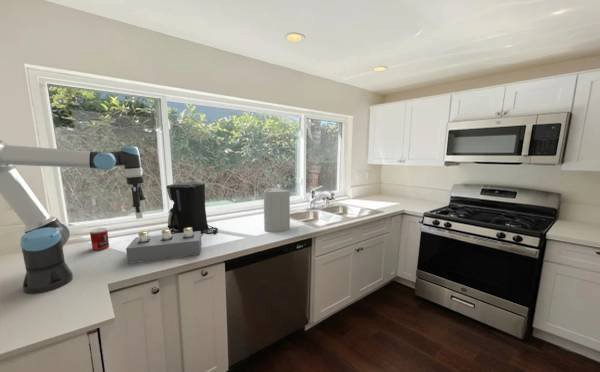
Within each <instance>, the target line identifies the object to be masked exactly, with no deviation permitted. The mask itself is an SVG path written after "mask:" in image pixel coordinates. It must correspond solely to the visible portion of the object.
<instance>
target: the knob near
mask: <svg viewBox="0 0 600 372" xmlns="http://www.w3.org/2000/svg"><path fill="white" fill-rule="evenodd" d="M137 235H138V237H139V243H149V237H148V236H149V231H148V230H143V231H140V232H138V233H137Z"/></svg>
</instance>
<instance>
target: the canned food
mask: <svg viewBox="0 0 600 372" xmlns="http://www.w3.org/2000/svg"><path fill="white" fill-rule="evenodd" d="M108 232H109V231H108V229H107V228H106V227H99V228H94V229H92V230H90V231H89V235H90V241H91V249H92V250H93V251H94V252H97V251H98V252H99V251H104V250H107V249H108V248H109V247H110V241H109V233H108Z"/></svg>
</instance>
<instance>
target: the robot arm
mask: <svg viewBox="0 0 600 372" xmlns="http://www.w3.org/2000/svg"><path fill="white" fill-rule="evenodd" d="M17 166H30V167H52V168H53V167H55V168H74V169H75V168H79V169H95V170H97V169H98V170H105V171H106V170H107V171H108V170H111V169H113V168H114V167H122V166H123V167H124V169H123V170H124V175H125V177H126V178H125V179H126V184H127V185H129V186H130V185H132V187H131V195H132V205H131V206H132V208H134V213H135V218H136V220H138V219H139V220H140V219H143V218H144V217H143V213H145V212H147V211H146V210H147V209H146V203H145V200H146V198H145V196H144V192H143V189H142V184H144V183H145V179H144V176H143V172H144V168H142V162H141V156H140V152H139V148H138V147H137V146H133V145H132V146H122V147H120V150H118V151H117V150H116V151H88V150H76V149H65V148H64V149H62V148H52V147H37V146H25V145H12V144H7V143H5V142H4V140H3V141H2V140H0V195H1V197H2V198H3V199H4V200H5V201H6V202H7V204H8V206H9V207H10V208H11V209H12V211H13V212H14V213H15V214H16V216H17V217H18V218H19V219H20V221H21V222H22V223H23V225H24V226H25V228H24V229H23V233H24V234H23V235H22V236H21V237H20V248H21V252H22V256H23V262H24V265H25V274H24V275H25V276H24V280H23V283H22V291H23V292H24V293H25V294H32V295H33V294H40V293H44V292H49V291H53V290H55V289H57V288H61V287H63V286H65V285H66V284H68V283H70V282H71V281H72V280H73V278H74V276H73V272H72V270H71V269H70V267H69V266H68V264H67V263H66V260H65V255H64V249H63V248H64V247H65V245H66V244H67V243H68V241H69V239H70V234H71V233H70V228H69V227H68V226H67V225H65V224H64V223H62V222H61V221H60V220H59V219H58V217H56V216H52V215H50V213H49V212H48V211H47V209H46V208H45V207H44V205H43V204H42V202H40V200H39V198H38V197H37V195H36V194H35V193H34V192H33V190H32V189H31V188H30V186H29V185H28V183H27V182H26V181H25V180H24V178H23V177H22V175H21V174H20V173H19V172H18V170H17Z"/></svg>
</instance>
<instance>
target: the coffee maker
mask: <svg viewBox="0 0 600 372" xmlns="http://www.w3.org/2000/svg"><path fill="white" fill-rule="evenodd" d="M166 192H167V195H168V198H169V200H170V201H172V203H173V204H172V207H171V208H170V209H169V212H168V219H167V229H171V234H175V233H184V228H186V227H192V232H195V231H201V235H202V234H204V233H206V234H209V235H210V234H213V235H216V234H217V233H218V231H219V230H218V227H213V226H211V225H209V224H208V220H207V218H208V217H207V210H206V184H205V183H204V182H191V181H190V182H180V183H173V184H167V185H166ZM210 230H212V231H210Z"/></svg>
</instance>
